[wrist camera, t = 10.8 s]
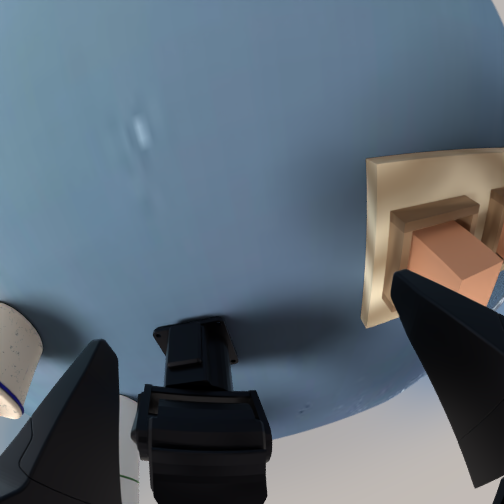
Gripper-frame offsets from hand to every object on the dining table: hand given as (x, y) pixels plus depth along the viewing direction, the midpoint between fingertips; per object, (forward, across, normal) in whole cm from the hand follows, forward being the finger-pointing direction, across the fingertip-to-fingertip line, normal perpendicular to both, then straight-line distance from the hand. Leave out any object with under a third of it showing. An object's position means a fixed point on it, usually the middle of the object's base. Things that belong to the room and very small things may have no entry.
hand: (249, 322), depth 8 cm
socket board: (+12, -22, +8) cm, 26 cm away
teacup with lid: (+12, +28, +9) cm, 32 cm away
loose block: (+10, -15, +8) cm, 20 cm away
